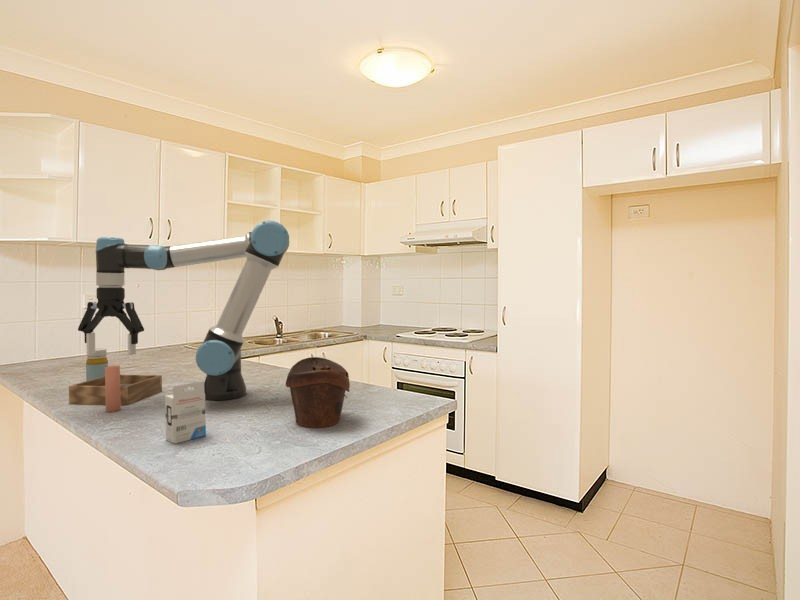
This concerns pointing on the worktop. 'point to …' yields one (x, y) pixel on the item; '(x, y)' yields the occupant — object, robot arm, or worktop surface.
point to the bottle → (96, 364)
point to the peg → (112, 388)
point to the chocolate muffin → (317, 391)
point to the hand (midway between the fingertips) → (111, 354)
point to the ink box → (185, 413)
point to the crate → (129, 389)
